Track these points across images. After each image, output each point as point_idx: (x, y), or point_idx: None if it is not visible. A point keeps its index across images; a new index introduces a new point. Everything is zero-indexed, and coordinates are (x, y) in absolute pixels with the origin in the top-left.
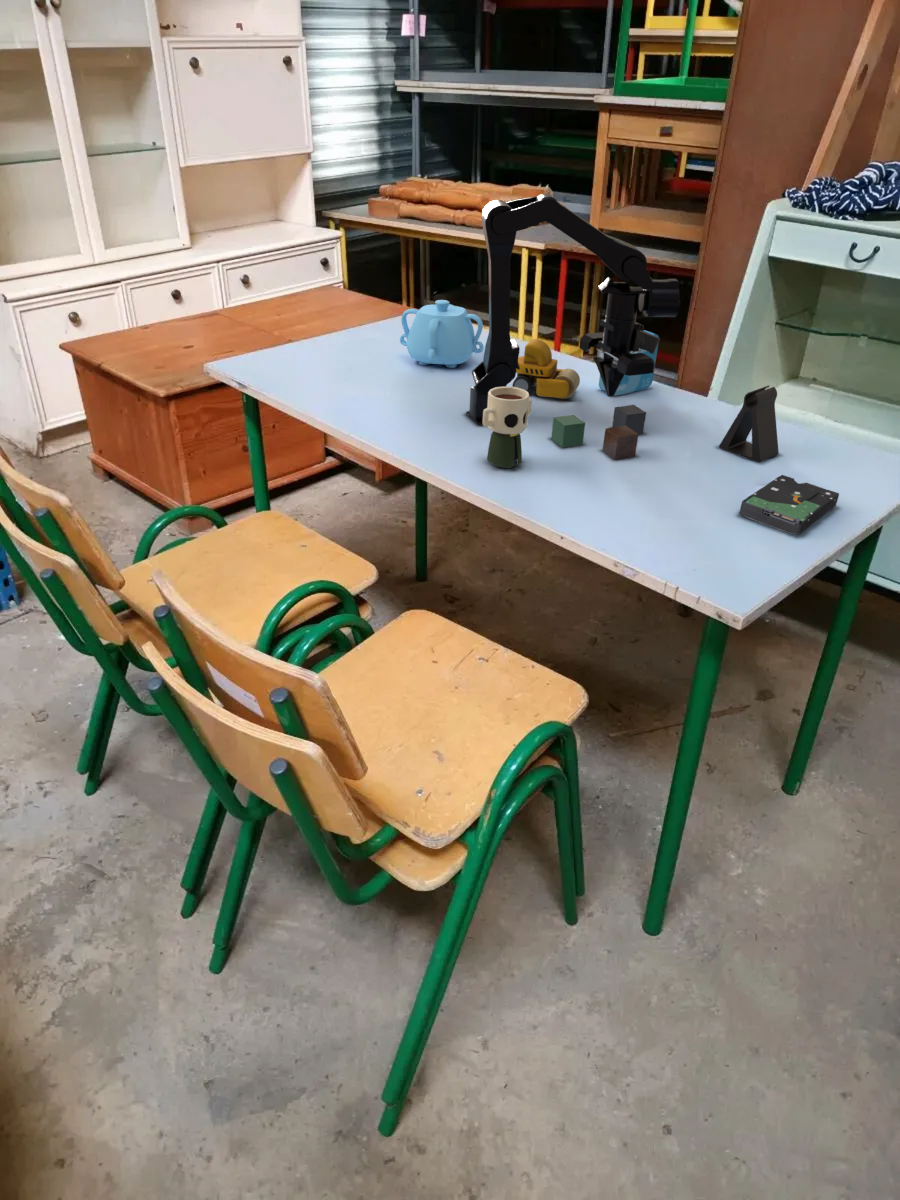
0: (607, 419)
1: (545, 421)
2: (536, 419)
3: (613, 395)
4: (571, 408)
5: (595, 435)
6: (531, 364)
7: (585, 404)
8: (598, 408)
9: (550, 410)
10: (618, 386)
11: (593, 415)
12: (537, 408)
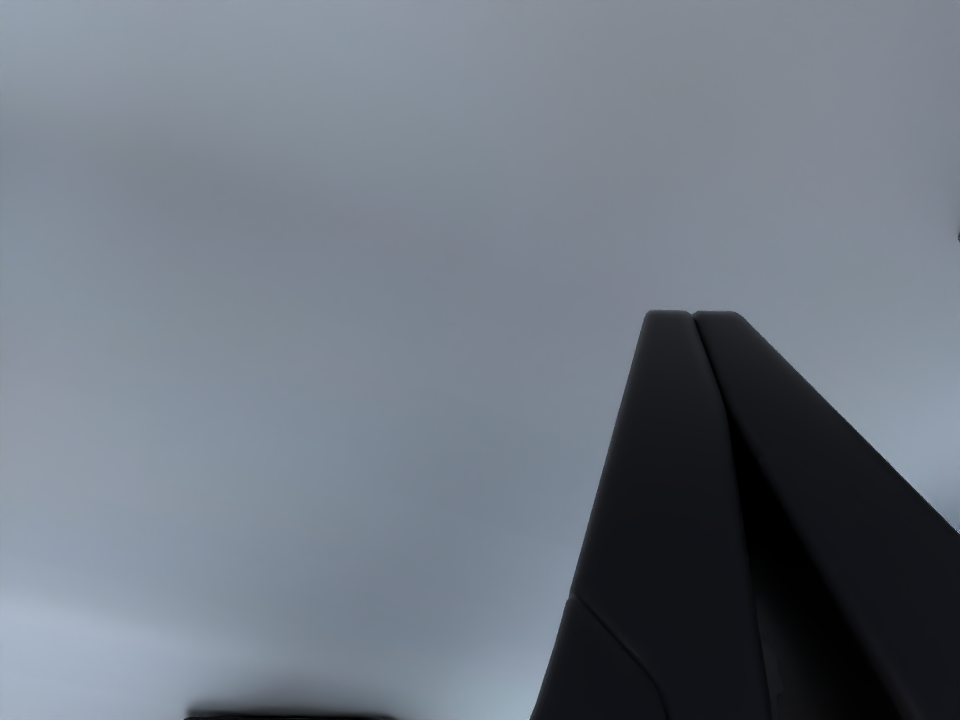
0: (670, 126)
1: (457, 589)
2: (396, 613)
3: (741, 328)
4: (171, 329)
5: (955, 441)
6: None
7: (15, 116)
8: (206, 16)
9: (211, 492)
10: (894, 469)
11: (462, 219)
12: (148, 544)
